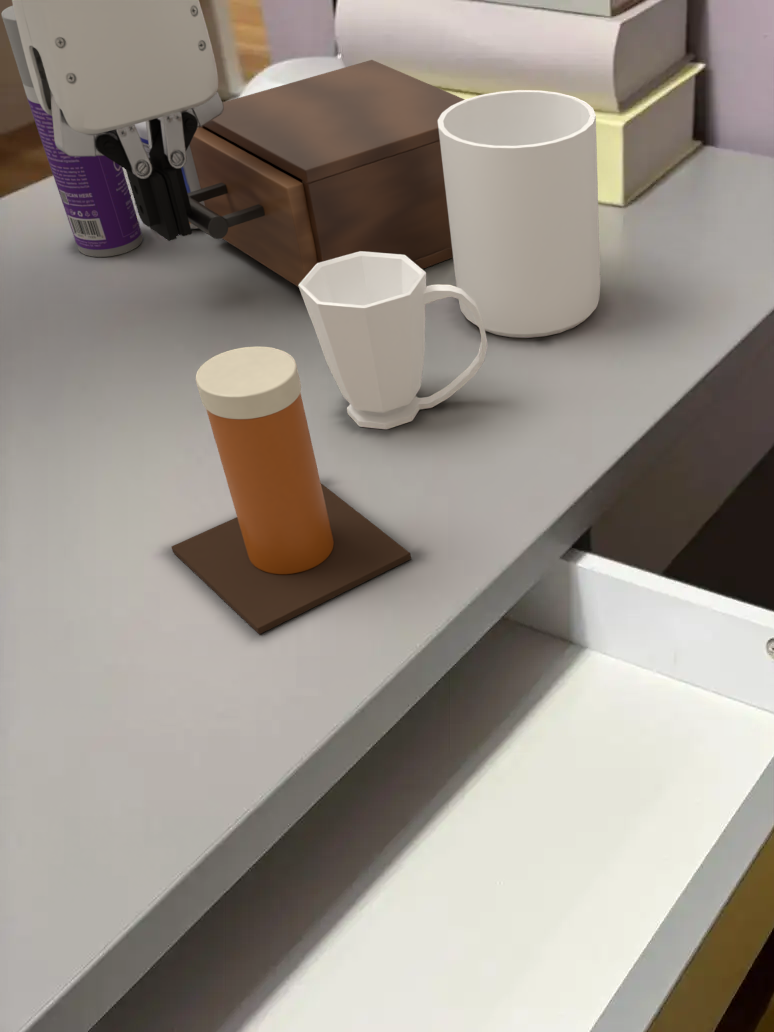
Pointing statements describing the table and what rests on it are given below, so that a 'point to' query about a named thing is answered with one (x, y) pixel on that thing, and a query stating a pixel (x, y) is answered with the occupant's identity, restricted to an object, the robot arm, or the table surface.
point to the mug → (523, 209)
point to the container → (82, 178)
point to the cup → (379, 333)
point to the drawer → (252, 206)
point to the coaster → (288, 595)
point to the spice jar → (267, 457)
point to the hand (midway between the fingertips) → (170, 230)
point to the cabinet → (355, 157)
